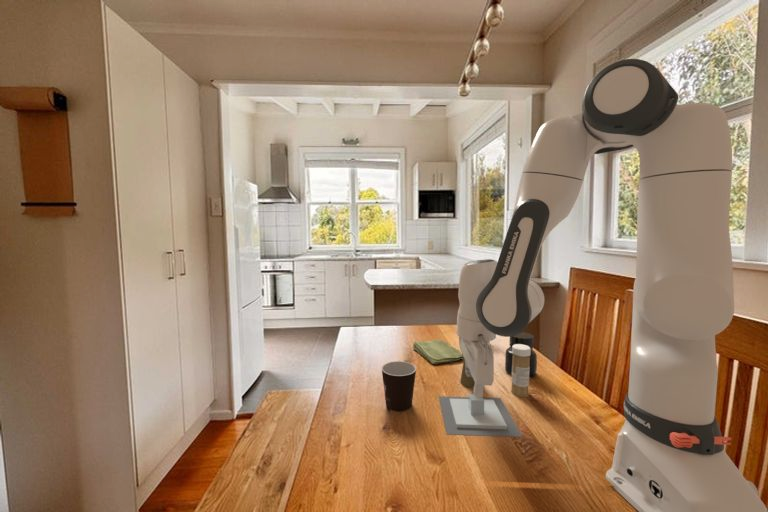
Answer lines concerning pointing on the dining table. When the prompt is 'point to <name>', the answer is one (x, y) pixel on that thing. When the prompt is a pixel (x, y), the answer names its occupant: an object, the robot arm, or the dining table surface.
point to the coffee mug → (398, 385)
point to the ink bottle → (525, 340)
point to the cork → (466, 378)
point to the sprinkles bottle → (520, 370)
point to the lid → (476, 413)
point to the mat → (452, 430)
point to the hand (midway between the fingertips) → (473, 384)
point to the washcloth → (437, 351)
